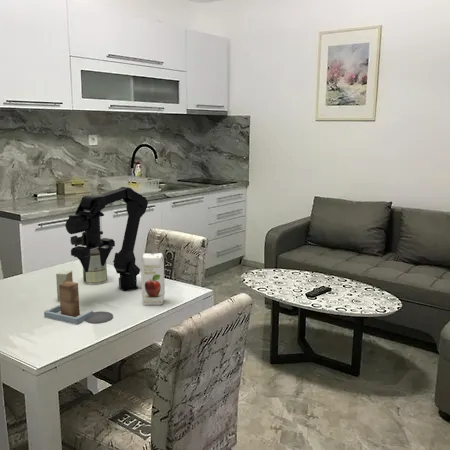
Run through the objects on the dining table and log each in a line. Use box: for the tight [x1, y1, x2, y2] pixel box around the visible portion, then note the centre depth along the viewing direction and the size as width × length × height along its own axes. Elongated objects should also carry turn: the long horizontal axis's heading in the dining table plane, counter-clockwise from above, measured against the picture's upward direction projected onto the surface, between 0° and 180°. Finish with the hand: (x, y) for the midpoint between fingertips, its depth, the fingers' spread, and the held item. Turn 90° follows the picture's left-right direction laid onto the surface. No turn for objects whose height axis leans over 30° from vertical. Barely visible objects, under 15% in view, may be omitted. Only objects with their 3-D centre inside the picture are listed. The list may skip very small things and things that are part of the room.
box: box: [55, 269, 74, 302], centre depth 189 cm, size 5×4×11 cm
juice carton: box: [140, 252, 166, 306], centre depth 186 cm, size 8×9×19 cm
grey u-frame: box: [43, 304, 94, 325], centre depth 173 cm, size 8×15×2 cm, turn 65°
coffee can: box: [82, 249, 108, 286], centre depth 211 cm, size 10×10×14 cm
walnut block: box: [59, 281, 81, 318], centre depth 173 cm, size 4×4×12 cm
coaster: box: [84, 311, 114, 324], centre depth 172 cm, size 10×10×1 cm
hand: (94, 268), depth 186 cm, fingers open, 9 cm apart
